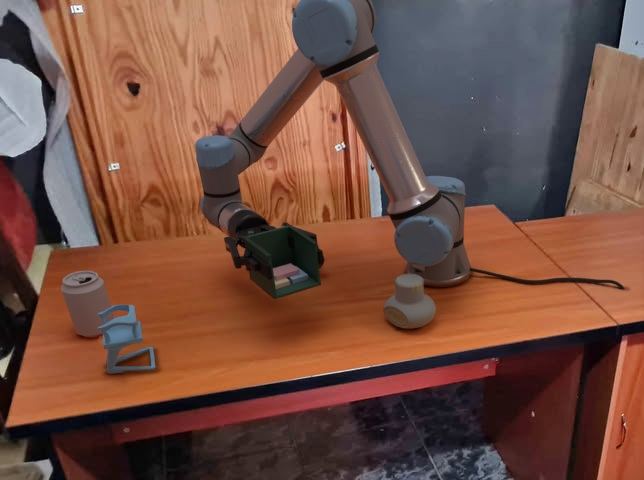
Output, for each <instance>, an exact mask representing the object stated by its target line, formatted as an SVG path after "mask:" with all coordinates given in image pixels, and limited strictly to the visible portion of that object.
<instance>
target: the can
mask: <svg viewBox="0 0 644 480" xmlns="http://www.w3.org/2000/svg"><path fill="white" fill-rule="evenodd" d="M60 290H61V293H62V296H63V299H64V301H65V304H66V307H67V310H68V313H69V316H70V319H71V322H72V325H73V329H74V331H75V332H76V334H78V335H79V336H83V337H85V338H99V337H100V336H101V335H102V336H103V333H102V332H101V331H100V330H99V329H98V327H100V326H102V325H104V322H103V320H102V319H101V317H100V316H99V315H98V313H100V312H103V311H105V310H106V309H108V308H110V307H112V304H111V300H110V298H109V294H108V290H107V287H106V285H105V281H104V279H103V278H102V277H100V276H99V274H98V273H97V272H95V271H93V270H77V271H74V272H72V273H68V274H67V275H66V276H64V277H63V278H62V285H61V287H60ZM105 318H106V319H107V321H108V322H109V321H110V320H112V319H114V318H116V316H115V315H114V312H112V313H110V314H108V315H107V316H106V317H105Z"/></svg>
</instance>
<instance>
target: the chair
mask: <svg viewBox="0 0 644 480" xmlns="http://www.w3.org/2000/svg"><path fill="white" fill-rule="evenodd" d="M118 311H124V312H128V314H126V315H121V316H117V317H116V316H115V318H114V319H112V320H110V321H109V322H108V321H107V319H106V318H105V317H106V316H107V315H108V314H110V313H112V312H113V313H114V312H118ZM98 315H99V316H100V317H101V319H102V320H103V322H104V325H102V326H100V327H98V329H99V330H100V331H101V332H102V333H103V334H102V346H103V349H104V350H107V355H106V374H108V375H110V374H111V375H112V374H124V372H132V371H134V372H137V371H153V370H155V369H156V368H157V366H156V359H155V352H154V347H153V346H147V347H143V348H141V349H138V350H135V351H132V352H130V353H127V354H124V355H121V356H119V353H120V352H121V350H123V349H124V348H126V347H129V346H131V345H135V344H142V343H144V338H143V329H142V327H143V326H142V323H141V321H140V320H137V316H136V315H137V314H136V306H135V305H133V304H125V303H123V304H114V305H111V307H110V308H108V309H106V310H105V311H103V312H100V313H98ZM146 352H149V357H150V365H123V366H122V365H121V366H120V365H119V366H117V365H118V363H120V362H123V361H125V360H128V359H130V358H133V357H136V356H139V355H141V354H144V353H146Z"/></svg>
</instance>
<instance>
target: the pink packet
mask: <svg viewBox="0 0 644 480" xmlns="http://www.w3.org/2000/svg"><path fill="white" fill-rule="evenodd" d="M273 273H274V280H276V281H278V280H281V279H284V278H288V277H291V276H294V275H298V274H299V269H298V268H296V267H295V266H294V265H292V264H287V265H284V266H280V267H277V268H273Z"/></svg>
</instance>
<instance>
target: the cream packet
mask: <svg viewBox="0 0 644 480" xmlns="http://www.w3.org/2000/svg"><path fill="white" fill-rule="evenodd" d="M288 285H290V280H288V279H287V278H284V279H281V280H278V281H276V280H275V287H276V289H278V288H282V287H285V286H288Z"/></svg>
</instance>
